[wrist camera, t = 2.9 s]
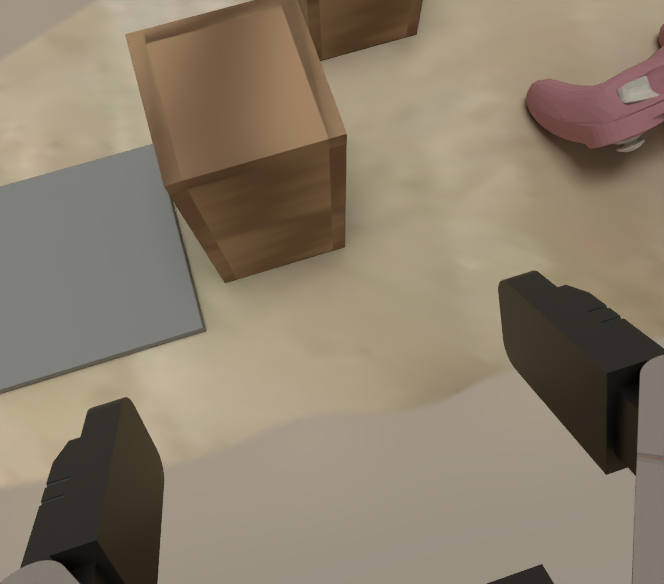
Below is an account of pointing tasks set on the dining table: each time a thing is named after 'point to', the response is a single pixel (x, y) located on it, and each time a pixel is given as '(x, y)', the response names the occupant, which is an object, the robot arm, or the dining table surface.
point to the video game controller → (604, 105)
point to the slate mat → (90, 268)
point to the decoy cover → (358, 23)
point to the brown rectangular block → (245, 133)
